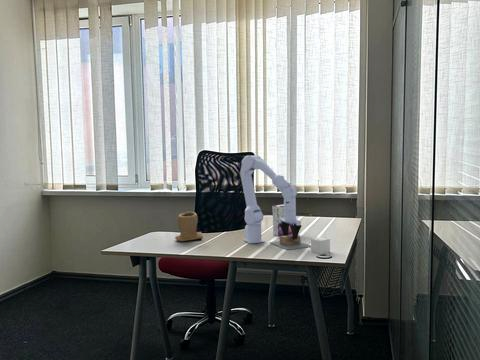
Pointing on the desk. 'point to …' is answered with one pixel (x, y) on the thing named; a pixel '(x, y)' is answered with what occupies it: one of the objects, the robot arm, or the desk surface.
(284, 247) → the rubber mat
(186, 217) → the stone cup
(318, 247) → the white cube
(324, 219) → the desk surface
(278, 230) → the candy bar box
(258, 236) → the robot arm
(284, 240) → the brown box with strip
